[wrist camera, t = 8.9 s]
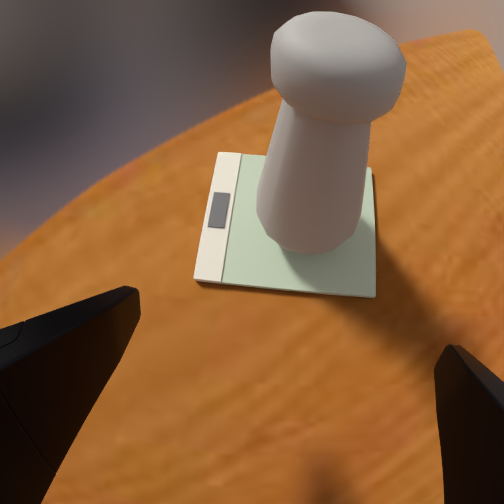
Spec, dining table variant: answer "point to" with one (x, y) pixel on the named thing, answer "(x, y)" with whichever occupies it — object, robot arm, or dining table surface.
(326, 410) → the dining table surface
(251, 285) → the pad
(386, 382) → the dining table surface
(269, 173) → the salt shaker
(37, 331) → the robot arm
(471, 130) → the dining table surface
